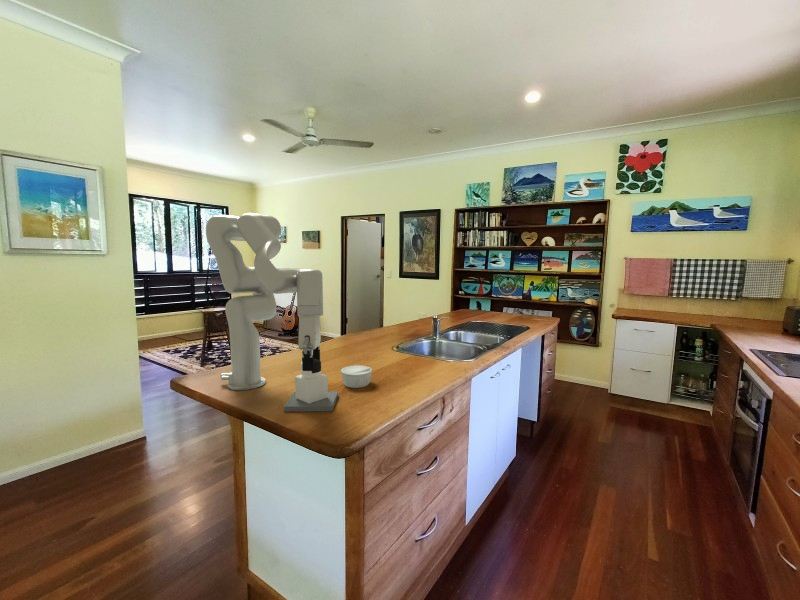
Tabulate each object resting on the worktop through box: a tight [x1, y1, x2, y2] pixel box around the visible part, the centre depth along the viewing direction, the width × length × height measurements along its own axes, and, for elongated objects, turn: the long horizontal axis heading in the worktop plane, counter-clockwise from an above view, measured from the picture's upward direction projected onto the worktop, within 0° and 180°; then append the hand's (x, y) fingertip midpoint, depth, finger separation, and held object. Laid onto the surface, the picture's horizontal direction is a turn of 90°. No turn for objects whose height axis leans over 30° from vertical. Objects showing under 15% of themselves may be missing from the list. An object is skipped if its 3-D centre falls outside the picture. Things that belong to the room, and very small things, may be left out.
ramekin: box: [340, 364, 373, 389], centre depth 128 cm, size 11×11×5 cm
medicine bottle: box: [294, 359, 329, 404], centre depth 110 cm, size 7×7×12 cm
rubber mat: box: [283, 390, 339, 413], centre depth 110 cm, size 14×12×2 cm
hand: (311, 366), depth 109 cm, fingers open, 9 cm apart
